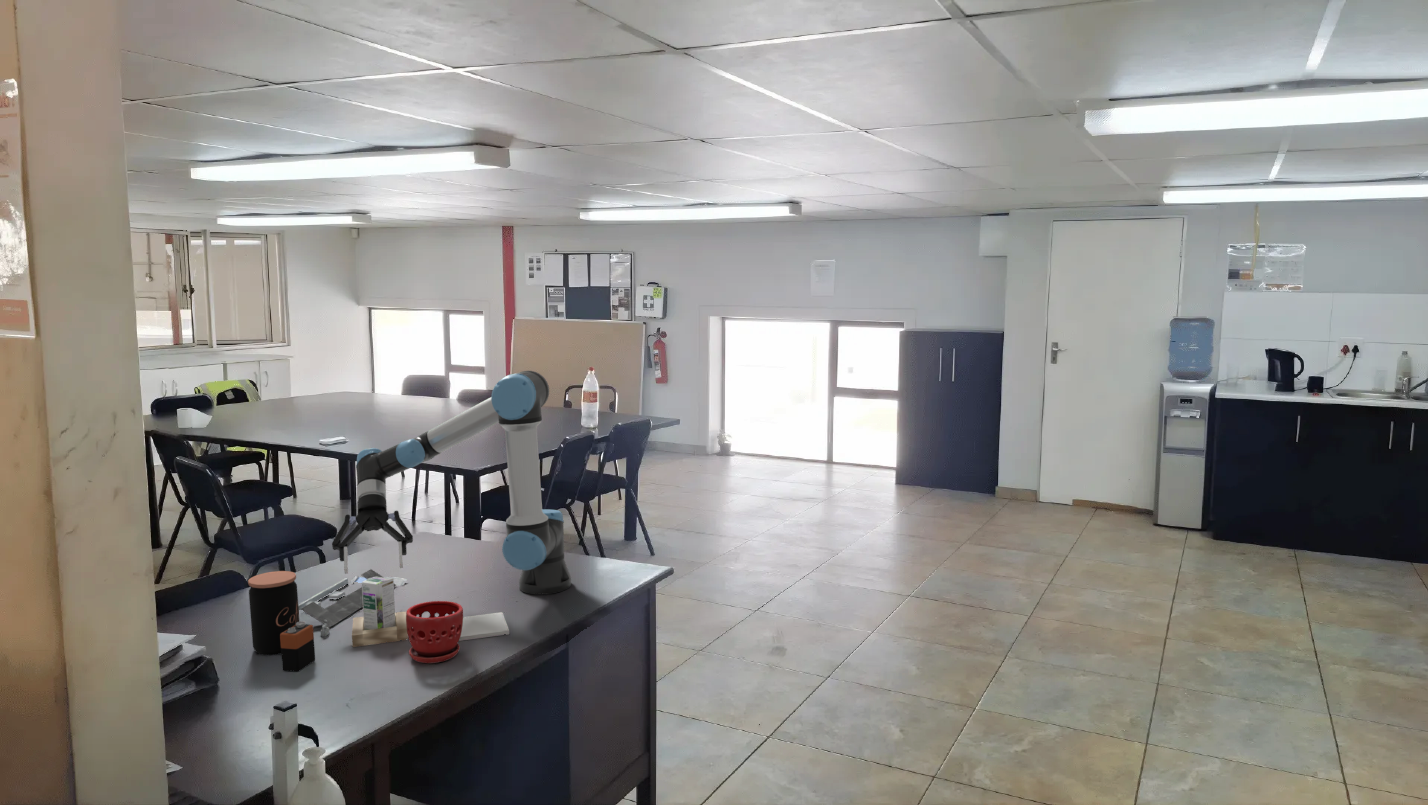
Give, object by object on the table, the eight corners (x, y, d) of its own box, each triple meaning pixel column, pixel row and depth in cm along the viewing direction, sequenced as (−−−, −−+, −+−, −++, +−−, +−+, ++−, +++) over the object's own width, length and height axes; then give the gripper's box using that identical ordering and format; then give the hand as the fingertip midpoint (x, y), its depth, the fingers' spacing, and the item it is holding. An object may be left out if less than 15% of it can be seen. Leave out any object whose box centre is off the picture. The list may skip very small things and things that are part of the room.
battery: (316, 660, 216) (313, 620, 215) (298, 672, 210) (295, 631, 209) (300, 659, 217) (297, 619, 216) (281, 671, 211) (278, 630, 209)
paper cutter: (259, 634, 234) (258, 614, 234) (356, 579, 278) (355, 562, 277) (323, 638, 231) (322, 618, 230) (411, 582, 275) (410, 564, 274)
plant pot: (434, 671, 210) (431, 622, 208) (396, 660, 217) (393, 611, 215) (476, 652, 221) (474, 605, 219) (439, 641, 228) (436, 595, 226)
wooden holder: (406, 622, 241) (405, 611, 241) (407, 639, 229) (407, 628, 228) (353, 628, 237) (353, 617, 236) (352, 647, 224) (351, 635, 224)
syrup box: (363, 637, 231) (360, 582, 229) (379, 628, 237) (376, 575, 235) (381, 639, 229) (378, 584, 227) (397, 631, 234) (394, 577, 233)
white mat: (502, 615, 245) (502, 612, 245) (509, 634, 232) (509, 630, 232) (448, 622, 240) (448, 619, 240) (452, 641, 227) (452, 638, 227)
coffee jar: (282, 658, 218) (276, 585, 216) (243, 654, 220) (237, 583, 218) (310, 641, 229) (305, 572, 226) (272, 638, 231) (267, 569, 228)
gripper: (419, 503, 257) (423, 569, 245) (324, 510, 249) (323, 580, 237) (419, 488, 252) (423, 556, 240) (321, 496, 244) (321, 566, 232)
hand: (373, 568), depth 238 cm, fingers open, 13 cm apart
